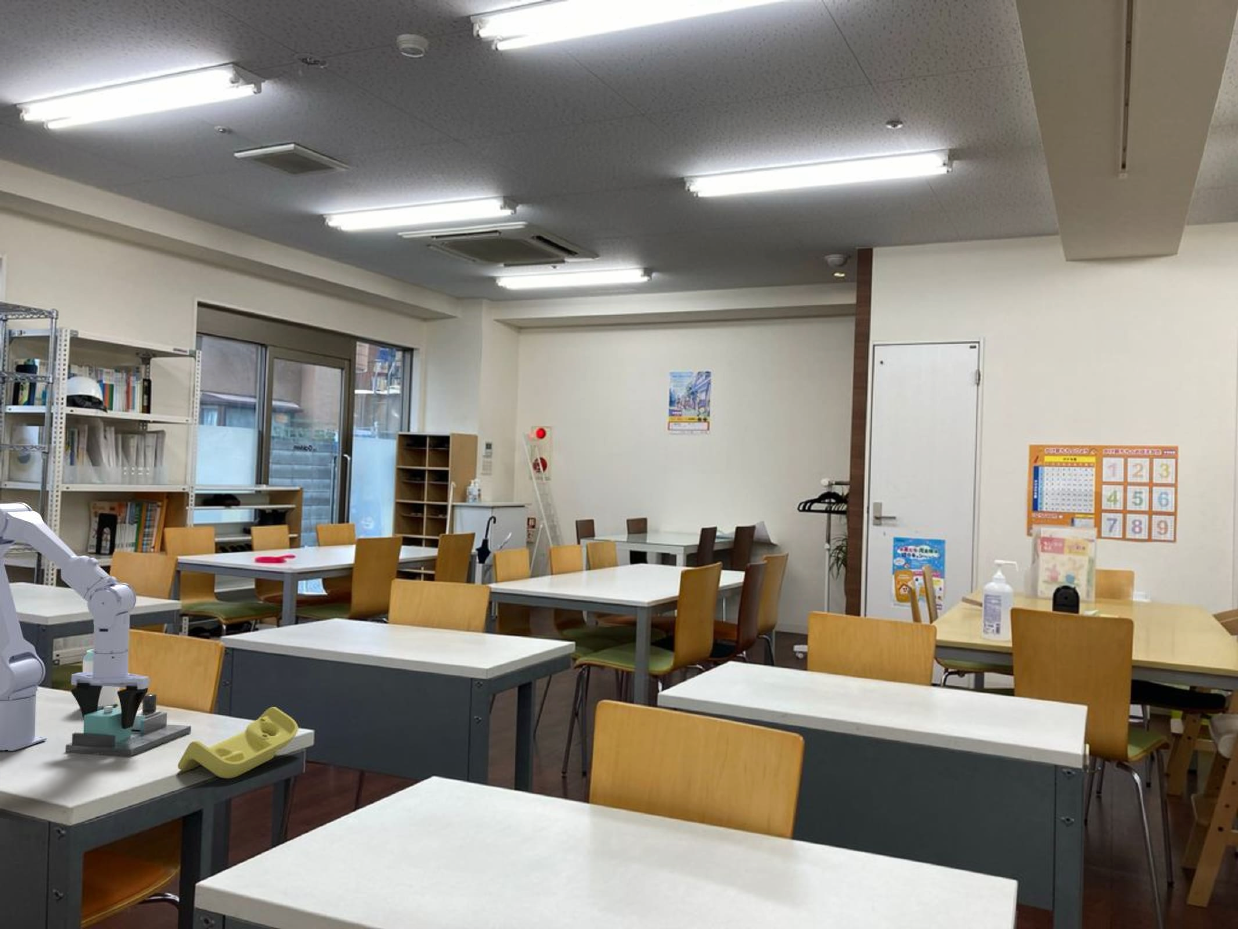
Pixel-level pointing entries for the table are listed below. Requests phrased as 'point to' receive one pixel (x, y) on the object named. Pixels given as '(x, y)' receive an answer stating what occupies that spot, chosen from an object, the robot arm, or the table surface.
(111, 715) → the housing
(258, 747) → the plastic component
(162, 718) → the press bed
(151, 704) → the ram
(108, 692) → the can
